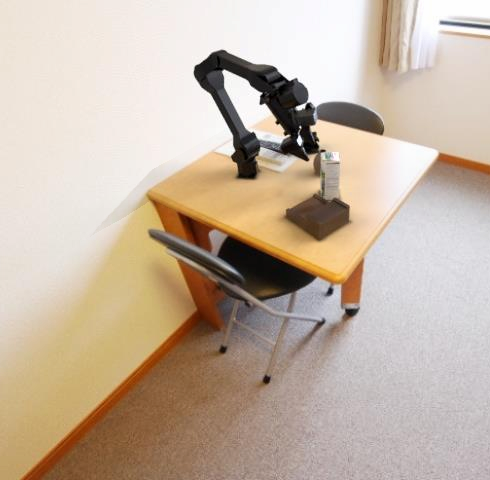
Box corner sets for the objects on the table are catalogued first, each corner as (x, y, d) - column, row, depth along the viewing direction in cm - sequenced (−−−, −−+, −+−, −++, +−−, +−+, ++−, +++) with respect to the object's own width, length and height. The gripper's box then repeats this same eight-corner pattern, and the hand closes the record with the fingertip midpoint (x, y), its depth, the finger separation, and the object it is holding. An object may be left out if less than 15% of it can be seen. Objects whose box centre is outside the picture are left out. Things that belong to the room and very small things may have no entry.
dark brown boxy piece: (286, 217, 109) (284, 201, 105) (315, 200, 115) (315, 185, 111) (319, 240, 101) (319, 224, 97) (348, 221, 107) (349, 205, 103)
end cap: (314, 144, 145) (314, 128, 140) (320, 152, 140) (320, 136, 135) (291, 148, 142) (290, 132, 138) (296, 156, 137) (295, 140, 133)
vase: (330, 178, 125) (331, 156, 119) (311, 176, 126) (311, 154, 120) (333, 168, 130) (334, 146, 124) (315, 167, 131) (315, 145, 125)
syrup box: (319, 191, 119) (319, 152, 110) (336, 189, 120) (338, 151, 110) (321, 200, 115) (321, 161, 105) (339, 199, 115) (340, 160, 106)
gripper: (297, 115, 93) (327, 160, 101) (311, 84, 105) (337, 126, 114) (265, 132, 98) (297, 173, 107) (282, 101, 111) (309, 140, 119)
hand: (311, 152), depth 112 cm, fingers open, 9 cm apart
